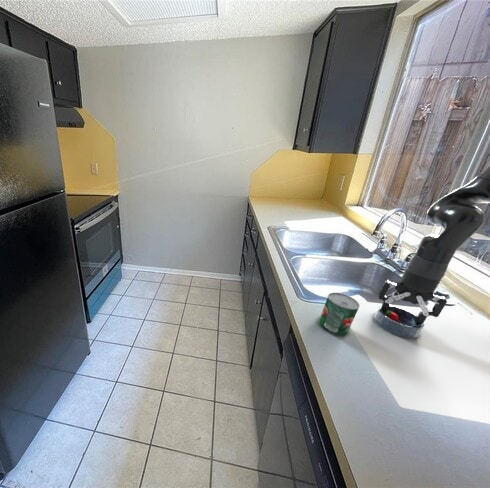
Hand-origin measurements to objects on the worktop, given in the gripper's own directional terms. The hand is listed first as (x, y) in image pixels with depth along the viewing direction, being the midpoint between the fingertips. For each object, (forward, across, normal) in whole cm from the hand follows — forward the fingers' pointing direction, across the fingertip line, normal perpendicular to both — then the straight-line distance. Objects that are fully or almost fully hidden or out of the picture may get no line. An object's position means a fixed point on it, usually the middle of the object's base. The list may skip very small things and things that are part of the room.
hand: (399, 317), depth 80 cm
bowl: (+4, 0, 0) cm, 4 cm away
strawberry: (+4, 0, -2) cm, 4 cm away
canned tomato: (+5, +16, +14) cm, 21 cm away
